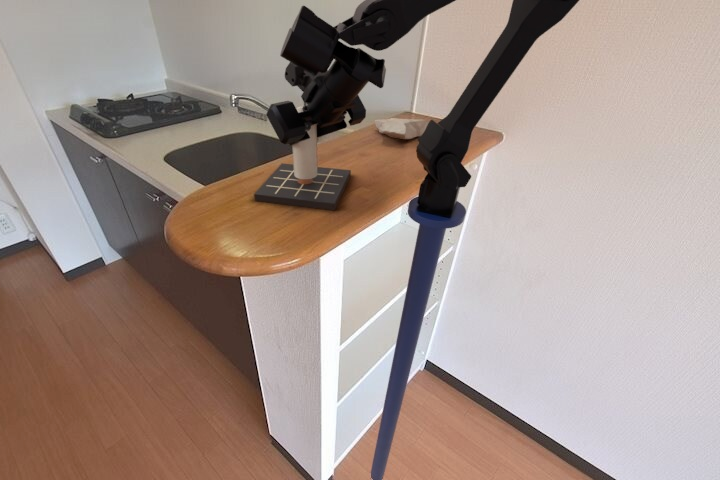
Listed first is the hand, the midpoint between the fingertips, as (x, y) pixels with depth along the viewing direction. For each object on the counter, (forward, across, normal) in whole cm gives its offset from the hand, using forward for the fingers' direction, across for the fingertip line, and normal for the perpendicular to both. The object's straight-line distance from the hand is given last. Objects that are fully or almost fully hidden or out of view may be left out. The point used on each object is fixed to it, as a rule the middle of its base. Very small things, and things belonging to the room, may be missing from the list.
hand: (300, 140), depth 68 cm
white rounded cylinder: (+4, 0, +6) cm, 7 cm away
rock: (+13, -41, +1) cm, 43 cm away
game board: (+6, 0, +8) cm, 10 cm away
